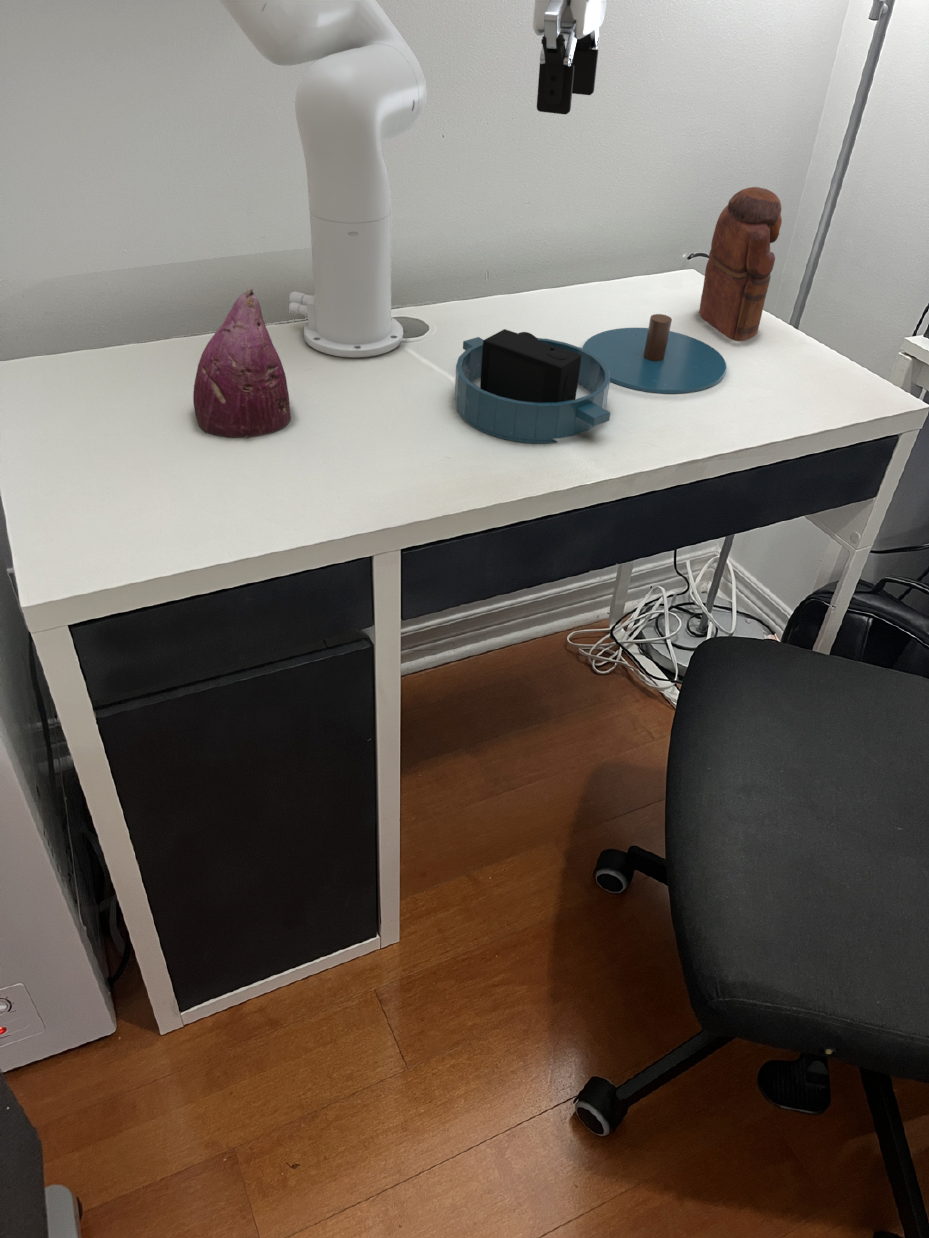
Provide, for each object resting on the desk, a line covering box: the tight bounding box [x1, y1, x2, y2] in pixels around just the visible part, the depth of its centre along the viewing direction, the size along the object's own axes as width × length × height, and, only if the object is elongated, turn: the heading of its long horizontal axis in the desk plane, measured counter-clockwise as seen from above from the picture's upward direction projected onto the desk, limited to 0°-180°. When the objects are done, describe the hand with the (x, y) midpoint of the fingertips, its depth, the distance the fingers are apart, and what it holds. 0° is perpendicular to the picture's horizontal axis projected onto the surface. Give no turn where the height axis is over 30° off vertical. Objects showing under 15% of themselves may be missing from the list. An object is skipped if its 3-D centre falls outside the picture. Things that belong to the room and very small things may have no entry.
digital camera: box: [479, 328, 581, 403], centre depth 106 cm, size 10×5×7 cm, turn 54°
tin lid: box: [581, 313, 727, 394], centre depth 117 cm, size 18×18×6 cm
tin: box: [453, 336, 611, 444], centre depth 107 cm, size 17×23×5 cm
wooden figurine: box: [698, 186, 783, 342], centre depth 124 cm, size 12×6×18 cm, turn 19°
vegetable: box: [192, 287, 292, 439], centre depth 101 cm, size 10×10×15 cm
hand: (566, 102), depth 93 cm, fingers open, 9 cm apart
